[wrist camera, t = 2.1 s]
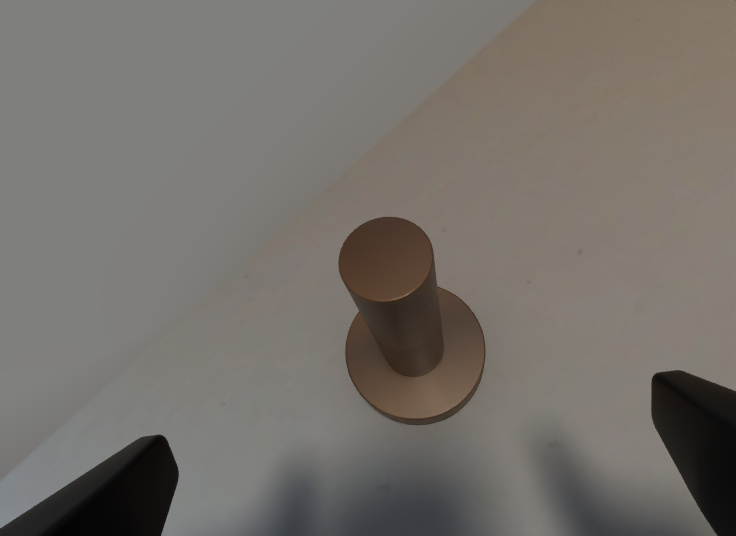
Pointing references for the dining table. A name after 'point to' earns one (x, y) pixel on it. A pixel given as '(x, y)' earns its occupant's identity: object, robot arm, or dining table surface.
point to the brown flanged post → (407, 326)
